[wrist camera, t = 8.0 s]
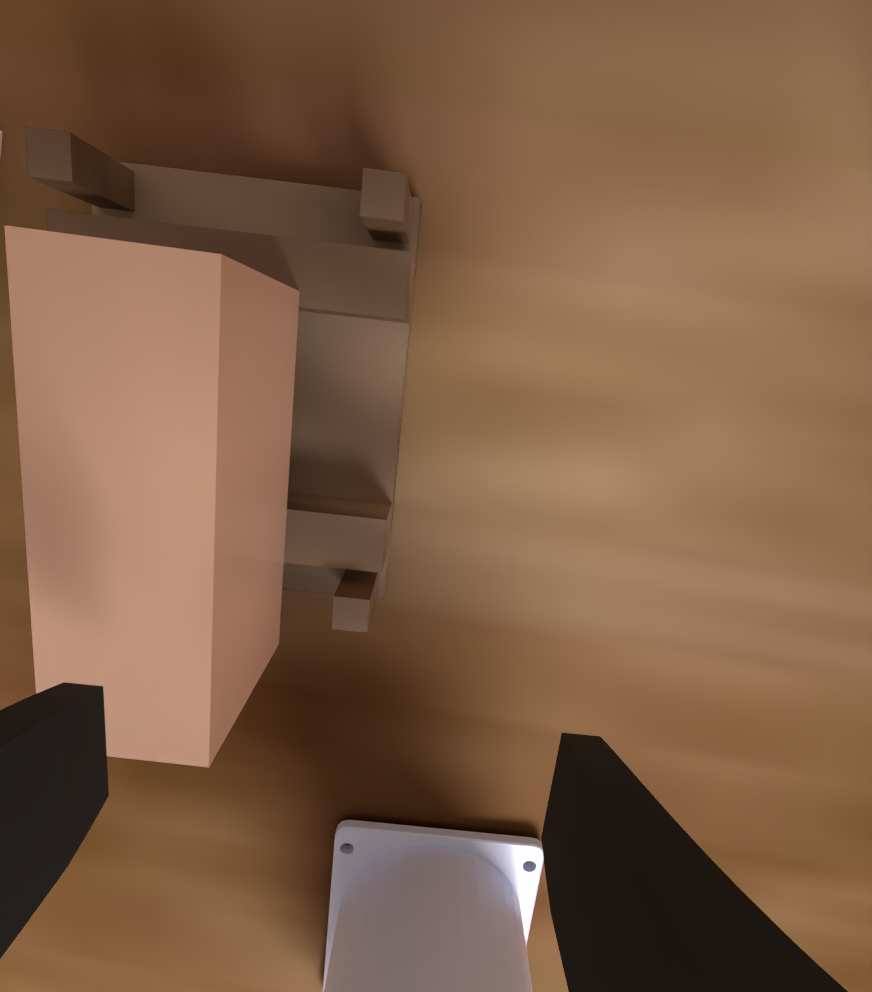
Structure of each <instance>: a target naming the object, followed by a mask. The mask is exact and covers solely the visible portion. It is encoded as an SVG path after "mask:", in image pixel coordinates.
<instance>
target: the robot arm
mask: <svg viewBox="0 0 872 992" xmlns="http://www.w3.org/2000/svg"><path fill="white" fill-rule="evenodd" d="M108 796H109V793H108V772H107V752H106V732H105V711H104V691H103V686H96V685H86V684H76V683H66V682H63V683H61V684H59V685H56V686H54V687H51V688H49V689H46V690H44V691H41V692H39V693H37V694H35V695H32V696H30V697H28V698H26V699H24V700H21V701H19V702H17V703H15V704H13V705H11V706H9V707H6V708H4V709H2V710H0V958H1V957H2V956H3V954H4V953H5V952H6V950H7V949H8V947H9V946H10V945H11V943H12V942H13V941H14V939H15V938H16V937H17V935H18V934H19V933H20V931H21V930H22V929H23V927H24V926H25V924H26V923H27V922H28V920H29V919H30V918H31V916H32V915H33V913H34V912H35V911H36V909H37V908H38V907H39V905H40V904H41V902H42V901H43V900H44V898H45V897H46V896H47V894H48V893H49V891H50V890H51V889H52V887H53V886H54V885H55V883H56V882H57V880H58V879H59V878H60V876H61V875H62V873H63V872H64V870H65V869H66V868H67V866H68V865H69V863H70V861H71V860H72V858H73V856H74V855H75V853H76V851H77V850H78V848H79V846H80V845H81V843H82V841H83V840H84V838H85V836H86V835H87V833H88V831H89V829H90V828H91V826H92V824H93V822H94V821H95V819H96V817H97V815H98V814H99V812H100V810H101V808H102V806H103V805H104V803H105V801H106V799H107V798H108ZM541 839H542V843H541V842H540V841H539V840H538V839H536V838H532V837H522V836H512V835H501V834H491V833H481V832H471V831H460V830H450V829H440V828H430V827H419V826H409V825H399V824H389V823H378V822H368V821H358V820H344V821H342V822H340V823H339V824H338V826H337V829H336V833H335V841H334V854H333V866H332V879H331V892H330V905H329V917H328V930H327V943H326V955H325V968H324V981H323V992H533V990H532V983H531V976H530V969H529V962H528V955H527V948H526V945H527V940H528V935H529V930H530V925H531V920H532V915H533V910H534V905H535V900H536V895H537V890H538V885H539V880H540V875H541V870H542V865H543V860H544V864H545V873H546V881H547V888H548V895H549V903H550V910H551V915H552V920H553V924H554V929H555V933H556V938H557V942H558V946H559V951H560V955H561V959H562V964H563V968H564V972H565V977H566V981H567V985H568V990H569V992H848V991H847V990H845V989H844V988H843V987H842V986H841V985H840V984H839V983H838V982H836V981H835V980H834V979H833V978H832V977H831V976H830V975H829V974H828V973H826V972H825V971H824V970H823V969H822V968H821V967H820V966H819V965H818V964H817V963H815V962H814V961H813V960H812V959H811V958H810V957H809V956H808V955H807V954H806V953H805V952H804V951H803V950H802V949H801V948H799V947H798V946H797V945H796V944H795V943H794V942H793V941H792V940H791V939H790V938H789V937H788V936H787V935H786V934H785V933H784V932H783V931H782V930H781V929H780V928H779V927H778V926H777V925H776V924H775V923H774V922H773V921H772V920H771V919H770V918H769V917H768V916H767V915H766V914H765V913H764V912H763V911H762V910H761V909H760V908H759V907H758V906H757V905H755V904H754V903H753V902H752V901H751V900H750V899H749V898H748V897H747V896H746V895H745V894H744V893H743V892H742V891H741V890H740V889H739V888H738V887H737V886H736V885H735V884H734V883H733V881H732V880H731V879H730V878H729V877H728V876H727V875H726V874H725V873H724V872H723V871H722V870H721V869H720V868H719V867H718V866H717V865H716V864H715V863H714V862H713V861H712V860H711V859H710V858H709V857H708V855H707V854H706V853H705V852H704V851H703V850H702V849H701V848H700V847H699V846H698V845H697V844H696V843H695V842H694V841H693V839H692V838H691V837H690V836H689V835H688V834H687V833H686V832H685V831H684V830H683V829H682V827H681V826H680V825H679V824H678V823H677V822H676V821H675V820H674V819H673V818H672V816H671V815H670V814H669V813H668V812H667V811H666V810H665V809H664V808H663V807H662V805H661V804H660V803H659V802H658V801H657V800H656V799H655V797H654V796H653V795H652V794H651V793H650V792H649V791H648V790H647V788H646V787H645V786H644V785H643V784H642V783H641V782H640V781H639V779H638V778H637V777H636V776H635V775H634V774H633V773H632V771H631V770H630V769H629V768H628V767H627V766H626V765H625V763H624V762H623V761H622V760H621V759H620V758H619V757H618V756H617V754H616V753H615V752H614V751H613V750H612V749H611V748H610V747H609V746H608V744H607V743H606V742H605V741H604V740H603V739H602V738H601V737H599V736H589V735H579V734H569V733H562V735H561V740H560V745H559V750H558V755H557V760H556V766H555V771H554V776H553V781H552V786H551V791H550V796H549V801H548V806H547V811H546V816H545V822H544V827H543V832H542V837H541ZM345 843H348V844H351V845H346V844H345ZM526 861H531V862H528V863H526Z"/></svg>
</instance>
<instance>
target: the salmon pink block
mask: <svg viewBox="0 0 872 992" xmlns="http://www.w3.org/2000/svg"><path fill="white" fill-rule="evenodd" d="M4 226H5V241H6V256H7V271H8V285H9V300H10V315H11V330H12V345H13V359H14V374H15V389H16V404H17V418H18V433H19V448H20V463H21V478H22V492H23V507H24V522H25V537H26V551H27V566H28V581H29V596H30V611H31V625H32V640H33V655H34V670H35V684H36V694H37V693H39V692H41V691H44V690H46V689H49V688H51V687H54V686H56V685H59V684H61V683H63V682H66V683H76V684H86V685H96V686H103V691H104V711H105V732H106V752H107V756H111V757H120V758H129V759H138V760H147V761H156V762H165V763H174V764H182V765H191V766H200V767H209V766H210V765H211V763H212V761H213V759H214V758H215V756H216V754H217V752H218V750H219V749H220V747H221V745H222V743H223V742H224V740H225V738H226V736H227V735H228V733H229V731H230V729H231V728H232V726H233V724H234V722H235V721H236V719H237V717H238V715H239V713H240V712H241V710H242V708H243V706H244V705H245V703H246V701H247V699H248V698H249V696H250V694H251V692H252V691H253V689H254V687H255V685H256V684H257V682H258V680H259V678H260V677H261V675H262V673H263V671H264V669H265V668H266V666H267V664H268V662H269V661H270V659H271V657H272V655H273V654H274V652H275V650H276V648H277V647H278V645H279V633H280V616H281V599H282V582H283V565H284V548H285V531H286V514H287V497H288V480H289V463H290V446H291V430H292V413H293V396H294V379H295V362H296V345H297V328H298V311H299V294H300V291H298V290H296V289H293V288H291V287H289V286H287V285H285V284H283V283H281V282H279V281H277V280H275V279H273V278H270V277H268V276H266V275H264V274H262V273H260V272H258V271H256V270H254V269H252V268H249V267H247V266H245V265H243V264H241V263H239V262H237V261H235V260H233V259H231V258H229V257H226V256H224V255H222V254H217V253H209V252H202V251H194V250H187V249H179V248H172V247H164V246H157V245H149V244H142V243H134V242H127V241H119V240H112V239H104V238H97V237H89V236H82V235H74V234H66V233H59V232H51V231H44V230H36V229H29V228H21V227H14V226H6V225H4Z"/></svg>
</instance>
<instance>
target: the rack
mask: <svg viewBox="0 0 872 992" xmlns="http://www.w3.org/2000/svg"><path fill="white" fill-rule="evenodd" d="M25 135H26V149H27V163H28V177H31V178H33V179H35V180H37V181H40V182H42V183H44V184H47V185H49V186H51V187H53V188H56V189H58V190H60V191H62V192H65V193H67V194H69V195H71V196H74V197H76V198H78V199H80V200H83V201H85V202H87V203H89V204H91V210H92V214H85V213H77V212H68V211H60V210H51V209H46V216H47V231H51V232H59V233H66V234H74V235H82V236H89V237H97V238H104V239H112V240H119V241H127V242H134V243H142V244H149V245H157V246H164V247H172V248H179V249H187V250H194V251H202V252H209V253H217V254H222V255H224V256H226V257H229V258H231V259H233V260H235V261H237V262H239V263H241V264H243V265H245V266H247V267H249V268H252V269H254V270H256V271H258V272H260V273H262V274H264V275H266V276H268V277H270V278H273V279H275V280H277V281H279V282H281V283H283V284H285V285H287V286H289V287H291V288H293V289H296V290H298V291H300V294H299V311H298V328H297V345H296V362H295V379H294V396H293V413H292V430H291V446H290V463H289V480H288V497H287V514H286V531H285V548H284V565H283V582H282V589H286V590H296V591H305V592H315V593H324V594H334V598H333V613H332V627H331V629H336V630H345V631H355V632H365V633H367V631H368V627H369V623H370V620H371V616H372V612H373V609H374V605H375V601H376V599H381V600H383V598H384V594H385V590H386V579H387V569H388V558H389V548H390V537H391V526H392V516H393V505H394V495H395V484H396V473H397V463H398V452H399V441H400V431H401V420H402V410H403V399H404V388H405V378H406V367H407V357H408V346H409V335H410V325H411V314H412V303H413V293H414V282H415V272H416V261H417V250H418V240H419V229H420V219H421V208H422V204H421V198H419V197H411V193H410V187H409V182H408V176H407V173H403V172H394V171H386V170H378V169H370V168H363V175H362V189H361V190H352V189H344V188H336V187H327V186H319V185H311V184H302V183H294V182H286V181H277V180H269V179H261V178H252V177H244V176H236V175H227V174H219V173H210V172H202V171H194V170H185V169H177V168H169V167H160V166H152V165H144V164H135V163H127V162H119V161H116V160H114V159H113V158H111V157H109V156H108V155H106V154H104V153H103V152H101V151H100V150H98V149H96V148H95V147H93V146H91V145H90V144H88V143H86V142H85V141H83V140H82V139H80V138H78V137H77V136H75V135H73V134H72V133H70V132H63V131H54V130H46V129H38V128H29V127H25Z"/></svg>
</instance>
